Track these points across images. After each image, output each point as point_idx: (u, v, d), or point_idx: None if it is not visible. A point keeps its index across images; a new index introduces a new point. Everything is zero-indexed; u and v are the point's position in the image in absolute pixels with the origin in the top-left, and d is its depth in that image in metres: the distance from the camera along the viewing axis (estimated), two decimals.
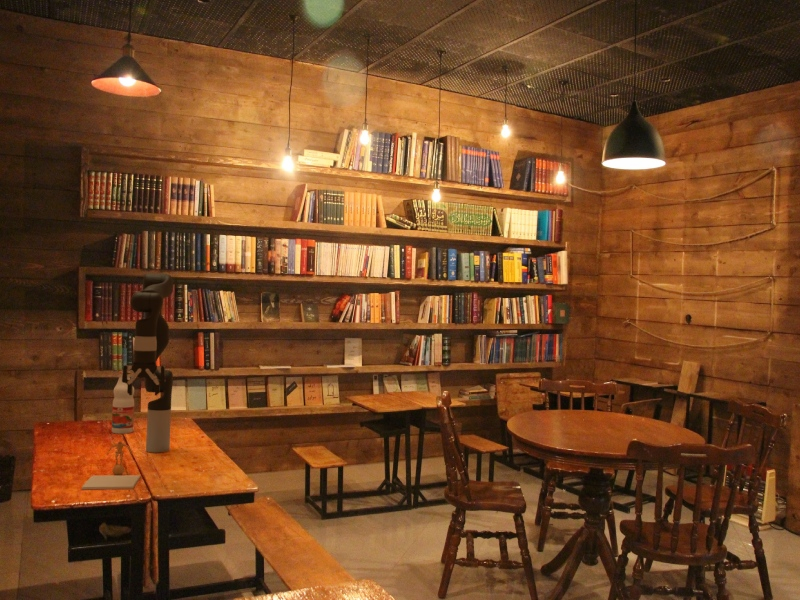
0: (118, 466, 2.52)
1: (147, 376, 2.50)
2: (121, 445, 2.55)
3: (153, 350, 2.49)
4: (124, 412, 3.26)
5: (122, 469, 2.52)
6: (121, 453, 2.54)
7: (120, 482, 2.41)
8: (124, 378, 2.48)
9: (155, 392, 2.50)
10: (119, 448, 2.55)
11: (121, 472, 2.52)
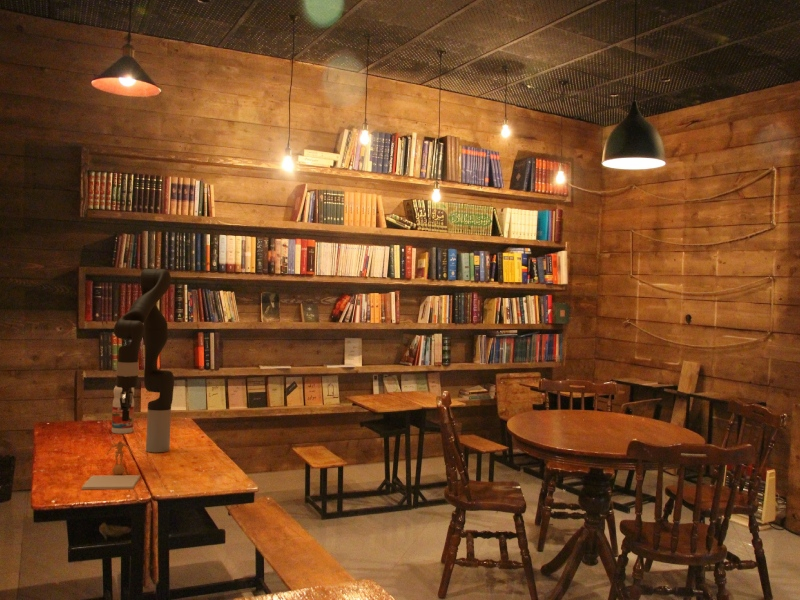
0: (118, 466, 2.52)
1: None
2: (121, 445, 2.55)
3: None
4: None
5: (122, 469, 2.52)
6: (121, 453, 2.54)
7: (120, 482, 2.41)
8: (128, 406, 2.61)
9: (128, 417, 2.64)
10: (119, 448, 2.55)
11: (121, 472, 2.52)
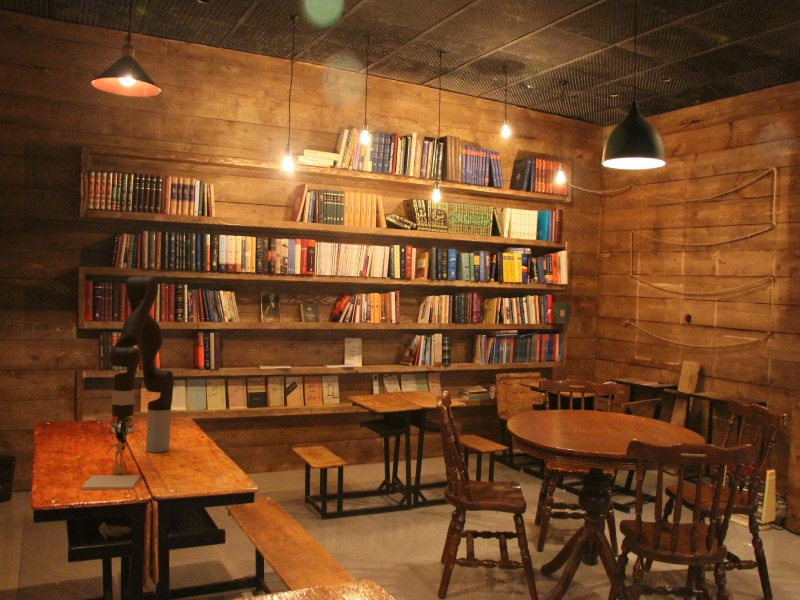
0: (118, 466, 2.52)
1: None
2: (121, 445, 2.55)
3: None
4: None
5: (122, 469, 2.52)
6: (121, 453, 2.54)
7: (120, 482, 2.41)
8: (123, 435, 2.56)
9: (124, 446, 2.59)
10: (119, 448, 2.54)
11: (121, 472, 2.52)
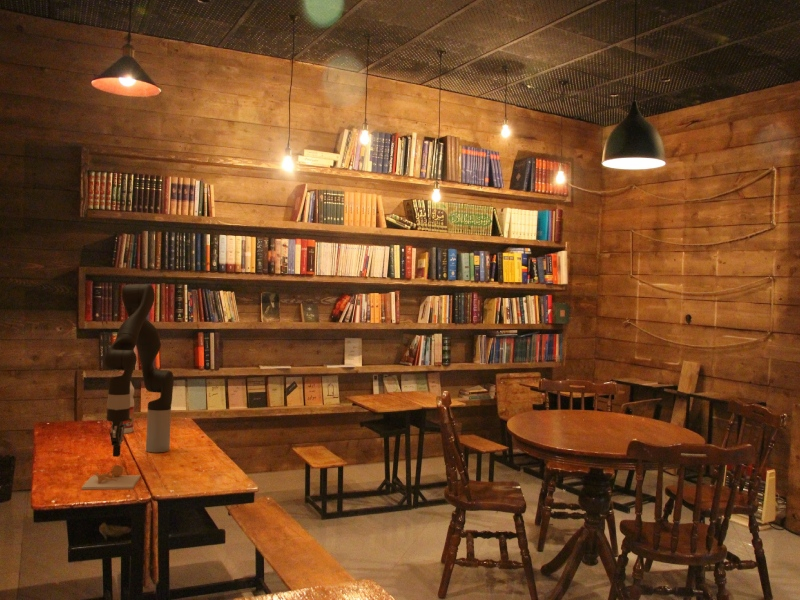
0: (114, 475, 2.48)
1: None
2: None
3: None
4: None
5: (119, 475, 2.48)
6: (108, 477, 2.43)
7: (120, 482, 2.41)
8: (119, 441, 2.47)
9: None
10: None
11: None
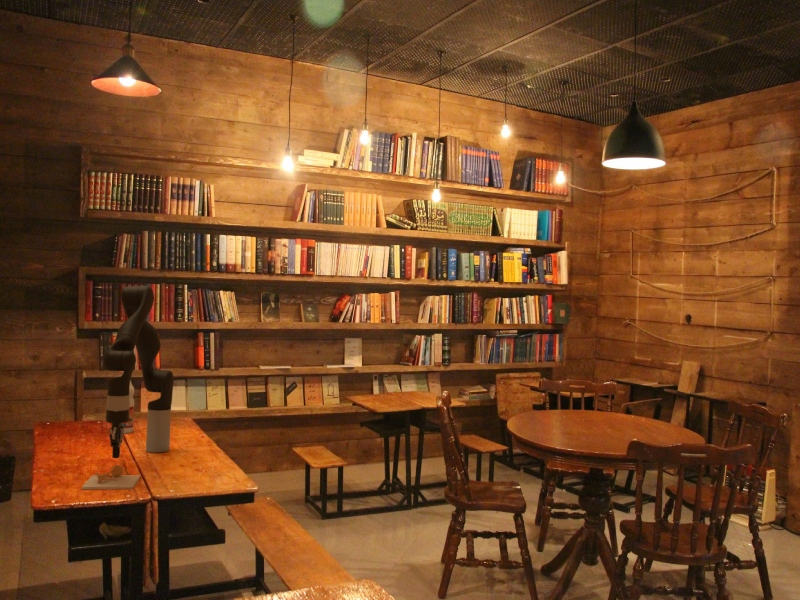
0: (114, 475, 2.48)
1: None
2: None
3: None
4: None
5: (119, 475, 2.48)
6: (108, 477, 2.43)
7: (120, 482, 2.41)
8: (118, 442, 2.46)
9: (119, 454, 2.49)
10: None
11: None
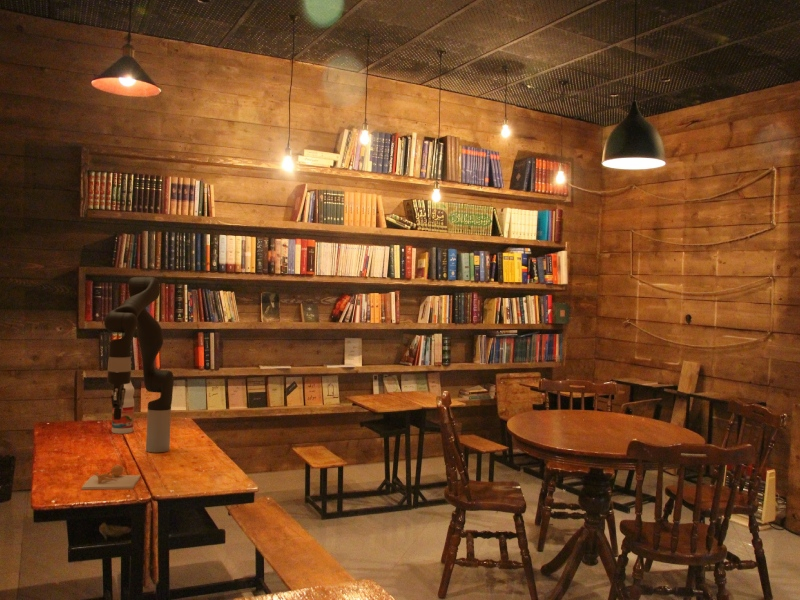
0: (114, 475, 2.48)
1: None
2: None
3: None
4: (124, 412, 3.26)
5: (119, 475, 2.48)
6: (108, 477, 2.43)
7: (120, 482, 2.41)
8: (120, 404, 2.45)
9: None
10: None
11: None
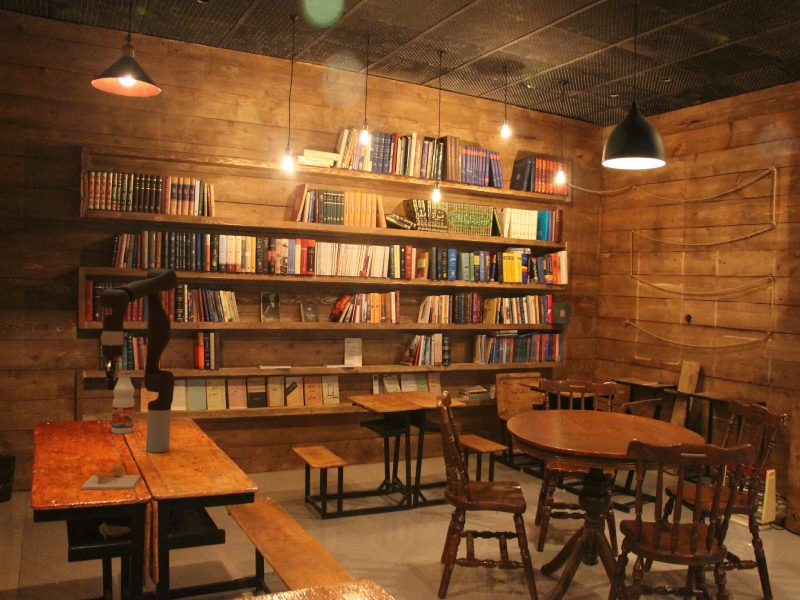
0: (114, 475, 2.48)
1: None
2: None
3: None
4: (124, 412, 3.26)
5: (119, 475, 2.48)
6: (108, 477, 2.43)
7: (120, 482, 2.41)
8: (113, 375, 2.62)
9: (114, 386, 2.65)
10: None
11: None
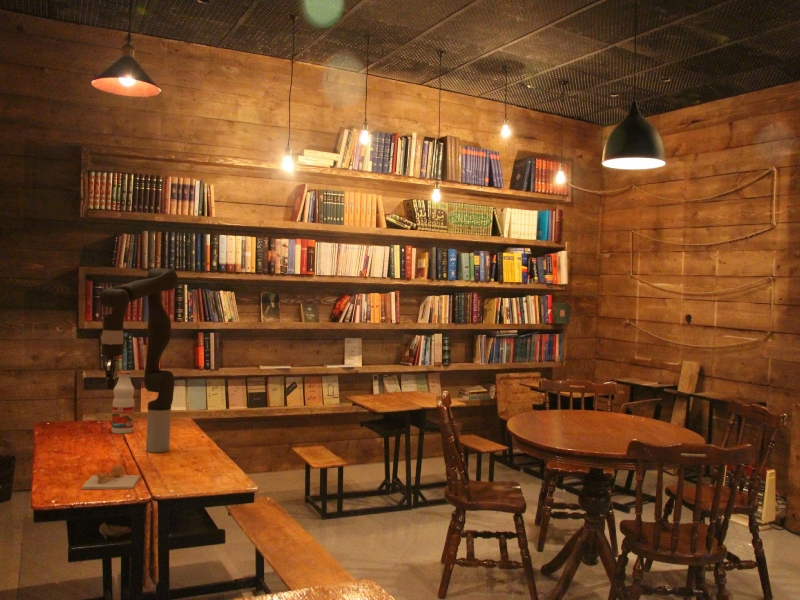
0: (114, 475, 2.48)
1: None
2: None
3: None
4: (124, 412, 3.26)
5: (119, 475, 2.48)
6: (108, 477, 2.43)
7: (120, 482, 2.41)
8: (113, 374, 2.62)
9: None
10: None
11: None
